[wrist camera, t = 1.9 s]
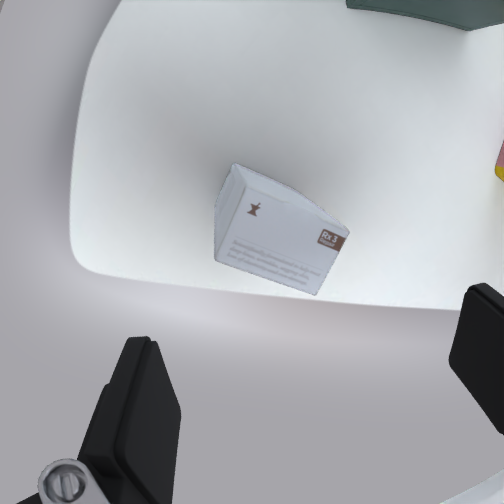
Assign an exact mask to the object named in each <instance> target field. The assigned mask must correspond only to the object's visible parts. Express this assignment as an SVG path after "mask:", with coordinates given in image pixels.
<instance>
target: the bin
mask: <svg viewBox="0 0 504 504" xmlns="http://www.w3.org/2000/svg"><path fill="white" fill-rule="evenodd" d="M346 3H347V8H354V9H364V10H372V11H379V12H386V13H392V14H398V15H404V16H409V17H414V18H419V19H424V20H428V21H433V22H437V23H441V24H445V25H449V26H452V27H456V28H460V29H463V30H466V31H472V30H476V29H480V28H484V27H488V26H493V25H497V24H502V23H504V0H346Z"/></svg>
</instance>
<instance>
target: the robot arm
mask: <svg viewBox="0 0 504 504" xmlns="http://www.w3.org/2000/svg"><path fill="white" fill-rule="evenodd" d="M449 365H450V367H451V369H452V370H453V371H454V372H455V374H456V375H457V376H458V378H460V380H461V381H462V383H463V384H464V385H465V387H466V388H467V389H468V391H469V392H470V393H471V394H472V396H473V397H474V399H475V400H476V401H477V403H478V404H479V405H480V407H481V408H482V409H483V411H484V412H485V414H486V415H487V416H488V418H489V419H490V421H491V422H492V423H493V425H494V426H495V428H496V429H497V431H498V432H499V433H501V434H503V435H504V296H502V295H501V294H500V293H498V292H497V291H496V290H495V289H493V288H492V287H491V286H489V285H488V284H486V283H480V284H476V285H472V286H470V287H469V288H468V290H467V292H466V293H465V295H464V299H463V304H462V308H461V313H460V317H459V321H458V325H457V330H456V334H455V337H454V341H453V344H452V348H451V352H450V355H449ZM180 421H181V410H180V406H179V403H178V400H177V398H176V395H175V393H174V390H173V387H172V384H171V382H170V379H169V376H168V373H167V370H166V367H165V364H164V361H163V358H162V355H161V352H160V349H159V346H158V343H157V342H156V341H151V339H150V338H149V337H147V336H144V337H129V338H128V339H127V341H126V343H125V346H124V348H123V350H122V353H121V355H120V358H119V360H118V363H117V365H116V367H115V370H114V372H113V375H112V378H111V380H110V383H109V384H106V385H105V386H104V388H103V390H102V392H101V395H100V398H99V400H98V403H97V405H96V408H95V411H94V413H93V416H92V419H91V421H90V424H89V427H88V429H87V432H86V435H85V438H84V441H83V443H82V446H81V449H80V452H79V455H78V458H77V460H74V459H60V460H57V461H54V462H53V463H51V464H50V465H48V466H47V467H46V468H45V469H44V470H43V471H42V473H41V475H40V477H39V480H38V491H39V492H38V493H36V494H35V495H32V496H30V497H29V498H27V499H25V500H23V501H21V502H19V503H17V504H172V496H173V485H174V475H175V465H176V456H177V447H178V439H179V430H180ZM439 504H504V469H503V470H502V471H500V472H498V473H497V474H495V475H493V476H492V477H490V478H488V479H487V480H485V481H483V482H481V483H479V484H478V485H476V486H474V487H472V488H470V489H468V490H466V491H464V492H462V493H460V494H458V495H456V496H454V497H452V498H450V499H448V500H446V501H443V502H441V503H439Z"/></svg>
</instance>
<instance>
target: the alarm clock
mask: <svg viewBox="0 0 504 504" xmlns="http://www.w3.org/2000/svg"><path fill="white" fill-rule="evenodd" d="M495 173H496V175H497V176H498V177H499V178H500V179H501V180H502V181H504V142H503V145H502V148H501V151H500V154H499V157H498V160H497V163H496V167H495Z"/></svg>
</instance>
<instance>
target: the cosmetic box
mask: <svg viewBox="0 0 504 504" xmlns="http://www.w3.org/2000/svg"><path fill="white" fill-rule="evenodd" d="M348 235H349V230H348V229H347V228H346V227H345V226H344V225H343V224H341V223H340V222H339V221H337V220H336V219H335V218H334V217H332V216H331V215H330V214H328V213H327V212H325V211H324V210H323V209H321V208H320V207H319V206H317V205H316V204H315V203H313V202H312V201H310V200H309V199H308V198H306V197H305V196H303V195H302V194H301V193H299V192H298V191H296V190H295V189H293V188H290V187H288V186H286V185H284V184H282V183H280V182H278V181H275V180H273V179H271V178H269V177H267V176H264V175H262V174H260V173H257V172H255V171H253V170H250V169H248V168H245V167H243V166H241V165H238V164H236V163H234V164H233V165H232V167H231V169H230V171H229V174H228V176H227V178H226V180H225V182H224V185H223V187H222V189H221V192H220V194H219V196H218V199H217V201H216V204H215V232H214V244H215V247H214V259H215V261H217V262H220V263H223V264H225V265H228V266H231V267H234V268H237V269H240V270H243V271H246V272H248V273H251V274H254V275H257V276H260V277H263V278H266V279H268V280H271V281H274V282H277V283H280V284H283V285H286V286H289V287H292V288H295V289H297V290H300V291H303V292H306V293H309V294H312V295H317V293H318V291H319V289H320V287H321V285H322V283H323V282H324V280H325V278H326V276H327V274H328V272H329V270H330V269H331V267H332V265H333V263H334V261H335V259H336V257H337V255H338V254H339V252H340V250H341V248H342V246H343V244H344V242H345V240H346V238H347V237H348Z"/></svg>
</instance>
